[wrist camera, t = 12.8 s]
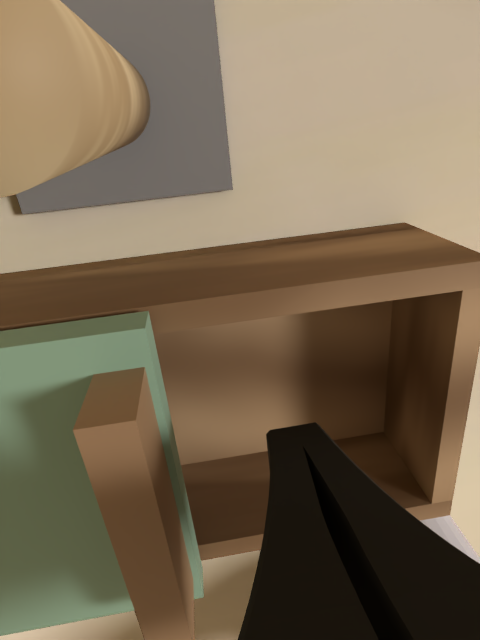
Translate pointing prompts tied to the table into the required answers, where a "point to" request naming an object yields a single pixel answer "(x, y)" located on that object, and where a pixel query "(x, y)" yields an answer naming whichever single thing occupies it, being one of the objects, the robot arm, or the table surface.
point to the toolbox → (293, 358)
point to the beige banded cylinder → (61, 94)
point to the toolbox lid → (92, 482)
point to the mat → (154, 109)
